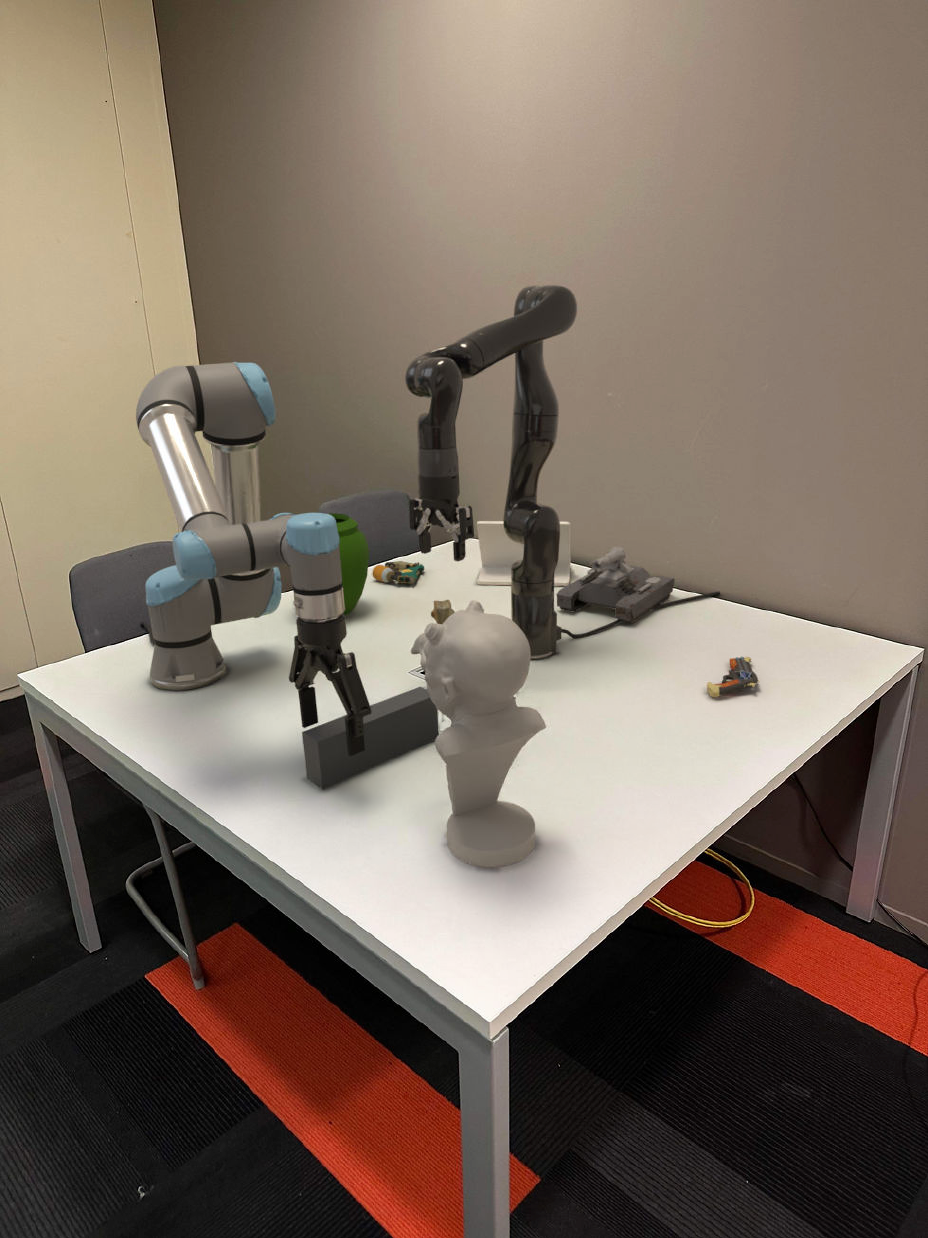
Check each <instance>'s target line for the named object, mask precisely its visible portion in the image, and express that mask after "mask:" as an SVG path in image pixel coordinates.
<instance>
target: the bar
mask: <svg viewBox="0 0 928 1238" xmlns="http://www.w3.org/2000/svg"><path fill="white" fill-rule="evenodd" d="M370 707H371V711H372V713H371V714H369V715H367V716H364V717H363V725H364V744H365V751H362V752H360V753H357V754H355V755H353V756H349V755H348V749H347V738H346V727H345V719H344V718H345V717H346V716H348V715H347V714H345V715H342V716H340V717H337V718H335V719H332V720H329V721H327V722H324V723H322V724H319V725H316V726H313V727H311V728H309V729H306V730H303V731H301V735H302V737H301V738H302V746H303V754H304V764H305V765H304V766H305V774H306V779H307V781H310V782H311V783H312V784H314V785H315V786H316V787H318V788H319V789H321V790H325V789H327V788H330V787H332V786H334V785H336V784H339V783H341V782H343V781H345V780H348V779H351V778H352V777H355V776H356V775H359V774H361V773H364V772H365V771H368V770H370V769H373V768H375V767H377V766H379V765H381V764H383V763H387V762H388V761H390V760H393V759H395V758H398V757H400V756H402V755H404V754H406V753H409V752H411V751H413V750H415V749H418V748H420V747H423V746H424V745H427V744H430V743H432V742H433V741H434V742H435V740H436V737H437V736H438V735H439V734H440V733H439V732H440V729H439V710H438V709H437V708H436V706H435V704H434V703H433V702H432V701H431V698H430V695H429V693H428V691H427V688H425V687H422V686H418V687H415V688H413V689H410V690H406V691H403V692H402V693H400V694H397V695H394V696H391V697H389V698H386V699H384V700H381V701H379V702H376V703H373V704H370Z"/></svg>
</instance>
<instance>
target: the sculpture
mask: <svg viewBox="0 0 928 1238" xmlns="http://www.w3.org/2000/svg"><path fill="white" fill-rule="evenodd" d="M455 612H456V611H455V609H453V608H452V602H451V601H450V599H445V600H433V610H431V612H430V617H431V618H432V619H433V620H434V621H435V622H436V623H435V624H443V623H444V622H445V620H446V619H447V618H448V617H450V616H451V615H452V614H453V613H455Z"/></svg>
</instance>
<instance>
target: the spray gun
mask: <svg viewBox="0 0 928 1238" xmlns="http://www.w3.org/2000/svg"><path fill="white" fill-rule="evenodd" d="M424 571H425V565H423V564H422V563H421V564H420V562H419V561H418V562H414V563H411V562H407V561H401V560H399V561H386V562H385V563H384V565H382V564H377V565H375V566H374V567H373V569H372V573H371V575H372V577H373V579H375V580H377V581H380V582H382V583H390V582H393V581H395V582H397V583H398V584H412V585H413V584H414V583H415V582H416V580H417V579H418V575H420V574H422V573H423V572H424Z"/></svg>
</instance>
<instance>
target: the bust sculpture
mask: <svg viewBox="0 0 928 1238" xmlns="http://www.w3.org/2000/svg"><path fill="white" fill-rule="evenodd" d="M454 612H455V613H453V614H452V615H451V616H450V617H448V618H447V619H446V620H445V622H444V623H443V624H436V623H435V622H430V623H428V624H427V625H426V626H425V628H424V632H423V633H421V634H419V635H418V636H417V637H416V638H415V640H414V642H413V645H412V647H411V649H410V654H412V655H420V667H421V669H422V670H423V672H424V681H425V682H426V689H427V691H428V693H429V695H430V698H431V701H432V702H433V703H434V704H435V706H436V708H437V709H438V712H440V713H441V714H442V716H446V717H447V718H448V719H449V720H450V726H448V727H446V728H445V729H443V730H442V731H441V732H440V733H439V735H438V736H437V737H436V740H434V748H435V749H436V752H437V753H438V755H439V757H440V758H441V760H442V761H443V762H444V763H445V771H446V781H447V790H448V796H449V800H450V803H451V810H452V813H451V814H450V815H449V817H448V819H447V822H446V844H447V847H448V849H449V851H450V852H451V854H452V855H453V856H454V857H456V858H457V859H459V860H460V861H462V862H463V863H466V864H469V865H471V866H476V867H483V868H498V867H505V866H509V865H512V864H517V862H520V861H521V860H523V859H525V858H527V856H528V855H530V854H531V852H532V851H533V849H535V848H534V847H535V845H536V822H535V821H536V820H535V819H534V817H533V816H532V814H531V813H530V812H529V811H528V810H526V809H525V808H524V807H522V806H520V805H517V804H515V803H513V802H509V801H504V800H499V796H500V793H501V790H502V788H503V785H504V783H505V780H506V778H507V776H508V773H509V771H510V769H511V768H512V765H513V763H514V761H515V760H516V759H517V756H518V755H519V753H520V752H521V750H522V749H523V748H524V747H525V745H526V744H527V743H528V742H529V741H530V740H531V739H532V738H533V737H535V735H537V734H538V733H539V732H541V731H544V730H545V729H546V728H547V725H546V723H545V720H544V718H543V717H542V714H541V713H540V712H539V711H538V710H537V709H535V708H533V707H530V706H518V705H517V701H516V699H517V698H516V696H515V695H516V694H517V693H519V691H521V689H522V688H523V686H524V684H525V683H526V680H527V678H528V675H529V669H530V666H531V659H530V656H531V655H530V653H531V652H530V646H529V643H528V640H527V638H526V636H525V634H524V633H523V632H522V630H521V629H520V628H519V627H518V626H517V625H516V624H515V623H514V622H513V621H512V620H511V618H508V617H507V616H504V615H503V614H502V615H501V614H496V613H485V609H484V607H483V605H482V603H481V602H480V601H478V600H473V599H472V600H470V601H469V603H468V605H467V607H466V609H460V610H457V611H454Z"/></svg>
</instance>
